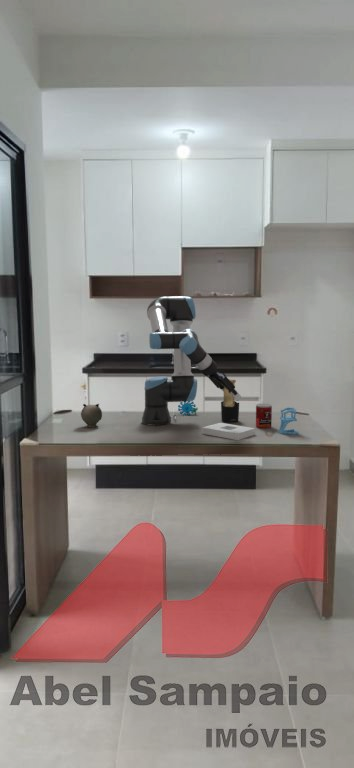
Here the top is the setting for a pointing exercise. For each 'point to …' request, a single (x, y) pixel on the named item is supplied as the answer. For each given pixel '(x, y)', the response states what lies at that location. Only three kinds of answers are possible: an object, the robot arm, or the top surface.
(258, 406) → the canned food
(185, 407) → the gear
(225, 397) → the brass ball knob
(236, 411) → the pen holder
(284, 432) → the chair
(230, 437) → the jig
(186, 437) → the top surface
